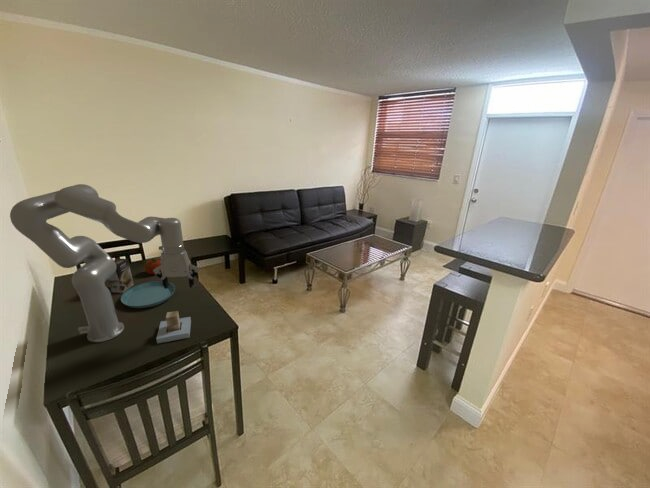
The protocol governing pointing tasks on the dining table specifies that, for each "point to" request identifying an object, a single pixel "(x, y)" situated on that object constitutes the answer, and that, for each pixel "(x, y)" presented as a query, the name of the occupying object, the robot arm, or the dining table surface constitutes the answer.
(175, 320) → the plug
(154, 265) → the fruit
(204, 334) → the dining table surface
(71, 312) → the dining table surface
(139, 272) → the dining table surface
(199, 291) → the dining table surface
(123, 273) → the coffee box
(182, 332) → the grey square-hole plate
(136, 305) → the blue plate
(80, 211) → the robot arm
